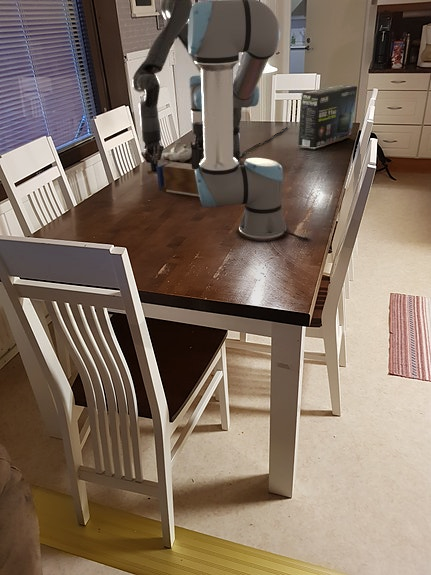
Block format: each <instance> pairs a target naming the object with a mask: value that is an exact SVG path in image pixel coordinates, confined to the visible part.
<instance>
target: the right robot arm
mask: <svg viewBox="0 0 431 575" xmlns="http://www.w3.org/2000/svg"><path fill="white" fill-rule="evenodd" d="M192 5H193V6H192V8H191V11H190V17H189V20H188V24H189V26H188V52H189V54H190V55H194V58H195V63H196V64H197V65H198V66H199V67H200V69H201V74H199V75H192V76H190V77H189V79H188V80H189V82H188V83H189V85H188V88H189V100H190V115H191V116H190V117H191V122H192V123H191V132H192V134H193V135H194V137H195V138H194V141H191V142H190V146H191V149H192V157H191V164H192V169H195V178H196V183H197V188H198V193H199V196H198V197H199V200H200V204H201V205H202V206H203V207H205V208H218V207H228V206H229V207H230V206H238V205H239V206H240V205H244V211H243V213H242V216H241V220H240V222H239V226H238V232H239V235H240V236H241V237H242V238H244V239H247V240H250V241H254V242H271V241H277V240H279V239H281V238H283V237H285V235H286V234H288V235H290V236H292V237H295V238H296V239H299V240H304V241H308V240H309V237H305V236H301V235H298V234H295V233H292V232H290V231H287V223H286V221H285V216H284V214H283V210H282V200H283V181H284V174H283V173H284V172H283V171H284V170H283V166H282V164H280V163H279V162H278V161H276V160H272V159H268V158H263V157H250V158H246V159H245V160H244V162H243V165H238V160H237V159H236V158H235V157H234V156H233V108H242V109H243V108H246V109H247V108H251V107H256V106H257V105H258V104H259V99H260V88H259V86H258V85H259V82H260V80H261V78H262V75H263V73H264V70H265V68H266V66H267V64H268V61H269V59H270V58H272V57H273V56H274V55H275V53H276V52H277V49H278V48H279V46H280V45H279V44H280V40H281V27H280V23H279V20H278V18H277V16H276V15H275V13H274V11H273V10H272V9H271V8H270V7H269V6H268V5H267V4H265V3H264V2H262V1H260V0H203V1H197V2H195V3H194V4H192ZM240 53H241V57H240ZM189 54H188V55H189ZM238 62H239V63H238ZM237 64H238V67H237V70H236V74H235V77H234V67H235V66H237Z"/></svg>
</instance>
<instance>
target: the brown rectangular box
mask: <svg viewBox="0 0 431 575" xmlns="http://www.w3.org/2000/svg"><path fill="white" fill-rule="evenodd" d="M164 173H165V183H166V188H165V192H166V193H173V194H179V195H186V196H193V197H199V193H198V188H197V183H196V178H195V169H192V163H187V162H186V163H185V162H178V161H171V162H170V163H168V164H167V163H166V165H165V166H164Z"/></svg>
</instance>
